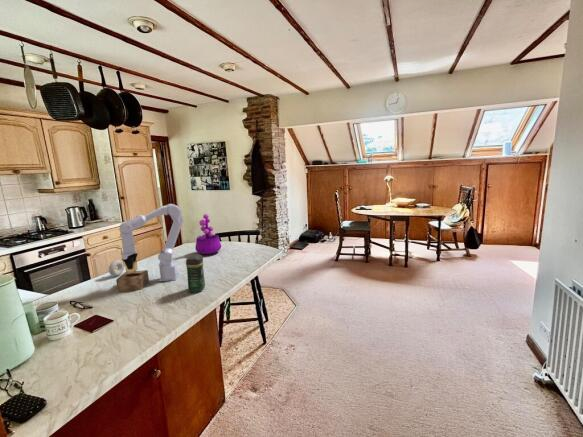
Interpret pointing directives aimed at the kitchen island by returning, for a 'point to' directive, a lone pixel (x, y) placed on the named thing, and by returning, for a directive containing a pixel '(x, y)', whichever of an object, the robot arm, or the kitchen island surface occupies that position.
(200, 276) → the coffee jar
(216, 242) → the decorative plant
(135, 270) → the wooden block
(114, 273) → the donut
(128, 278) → the brown square open block
